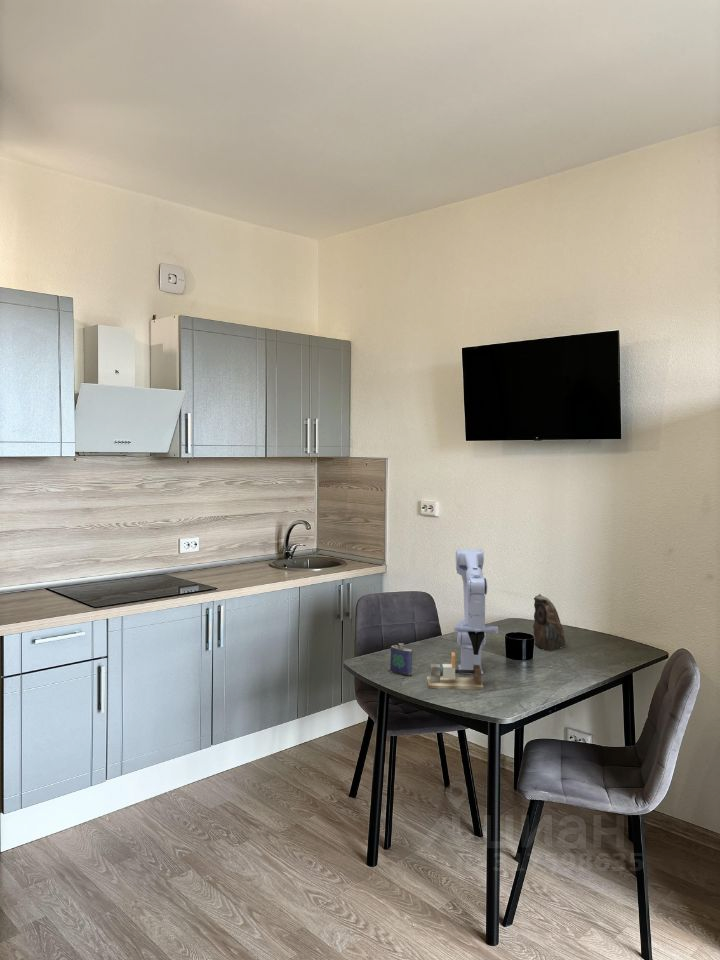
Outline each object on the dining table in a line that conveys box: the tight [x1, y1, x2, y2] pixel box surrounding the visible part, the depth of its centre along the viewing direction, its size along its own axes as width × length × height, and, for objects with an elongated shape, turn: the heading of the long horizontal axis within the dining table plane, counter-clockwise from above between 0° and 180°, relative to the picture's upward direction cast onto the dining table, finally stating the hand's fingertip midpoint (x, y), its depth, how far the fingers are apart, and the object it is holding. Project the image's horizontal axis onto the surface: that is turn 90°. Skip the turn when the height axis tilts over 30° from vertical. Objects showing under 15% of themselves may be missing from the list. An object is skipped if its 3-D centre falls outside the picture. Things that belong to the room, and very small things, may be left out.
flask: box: [389, 642, 413, 677], centre depth 257 cm, size 9×3×11 cm, turn 47°
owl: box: [532, 593, 566, 652], centre depth 293 cm, size 13×13×20 cm
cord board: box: [426, 663, 484, 691], centre depth 245 cm, size 18×9×6 cm, turn 87°
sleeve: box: [441, 651, 456, 679], centre depth 245 cm, size 4×4×8 cm
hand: (475, 654), depth 245 cm, fingers closed
